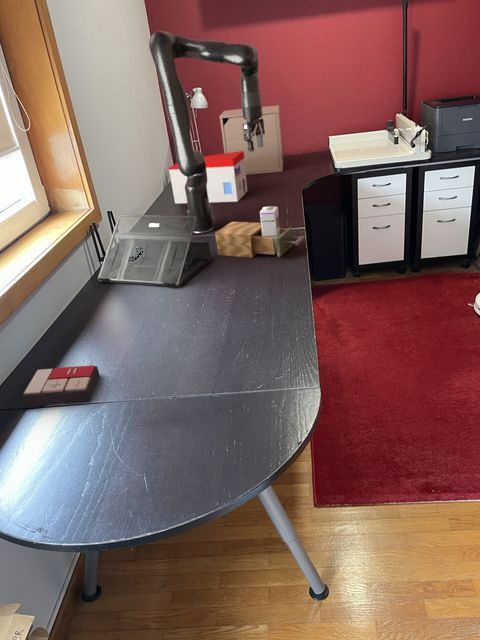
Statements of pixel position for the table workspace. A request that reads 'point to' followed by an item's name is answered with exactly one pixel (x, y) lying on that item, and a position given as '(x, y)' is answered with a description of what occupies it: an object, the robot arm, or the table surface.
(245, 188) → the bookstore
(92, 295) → the table surface
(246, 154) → the cabinet
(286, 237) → the drawer
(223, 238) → the cabinet
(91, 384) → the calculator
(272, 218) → the syrup box
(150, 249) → the laptop stand
